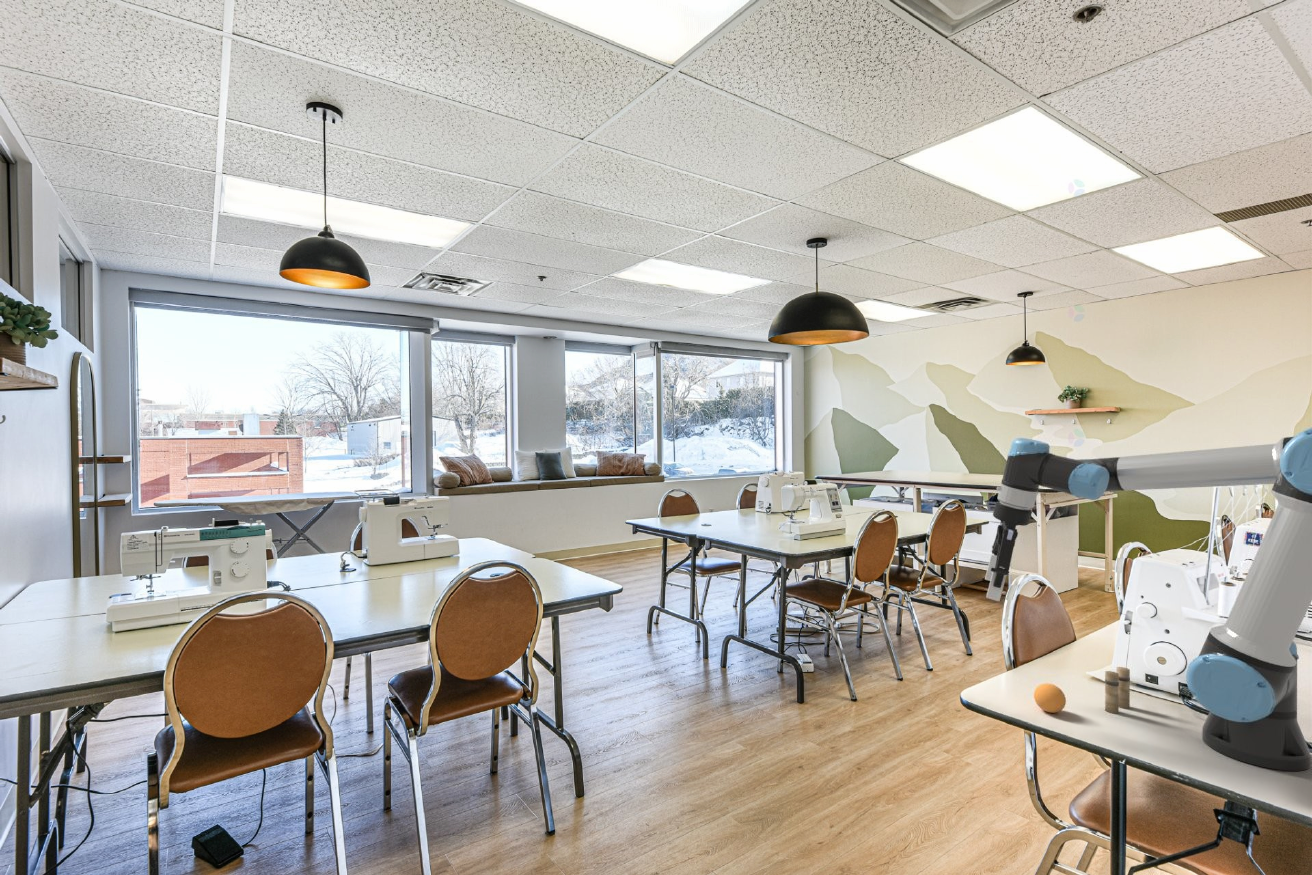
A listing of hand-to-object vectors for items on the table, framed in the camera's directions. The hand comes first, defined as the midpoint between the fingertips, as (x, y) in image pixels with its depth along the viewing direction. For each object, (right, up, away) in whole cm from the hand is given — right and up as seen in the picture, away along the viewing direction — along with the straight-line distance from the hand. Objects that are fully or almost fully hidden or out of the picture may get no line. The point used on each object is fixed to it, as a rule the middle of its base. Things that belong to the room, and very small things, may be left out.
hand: (991, 589), depth 149 cm
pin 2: (+26, -25, -7) cm, 36 cm away
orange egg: (+7, -21, -10) cm, 25 cm away
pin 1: (+21, -25, -10) cm, 34 cm away
